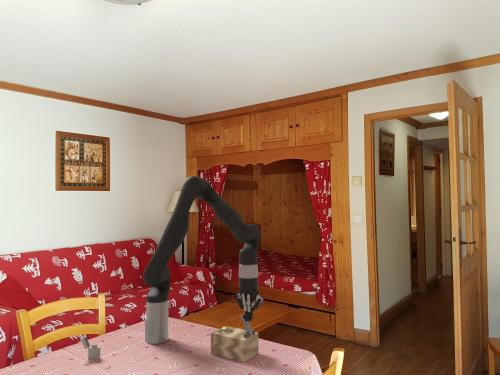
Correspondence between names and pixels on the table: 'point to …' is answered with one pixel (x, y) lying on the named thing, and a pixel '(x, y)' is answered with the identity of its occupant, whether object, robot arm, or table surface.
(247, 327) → the grey handle
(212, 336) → the block
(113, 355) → the table surface
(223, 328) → the pin
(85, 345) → the lighter
